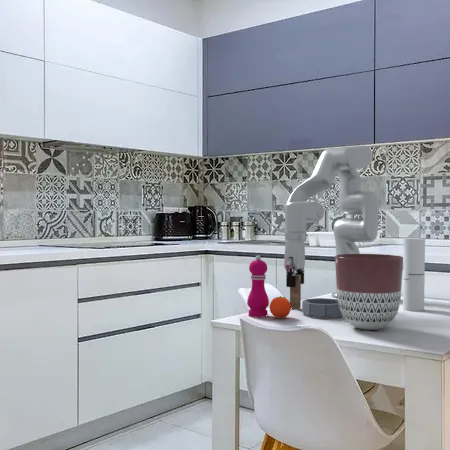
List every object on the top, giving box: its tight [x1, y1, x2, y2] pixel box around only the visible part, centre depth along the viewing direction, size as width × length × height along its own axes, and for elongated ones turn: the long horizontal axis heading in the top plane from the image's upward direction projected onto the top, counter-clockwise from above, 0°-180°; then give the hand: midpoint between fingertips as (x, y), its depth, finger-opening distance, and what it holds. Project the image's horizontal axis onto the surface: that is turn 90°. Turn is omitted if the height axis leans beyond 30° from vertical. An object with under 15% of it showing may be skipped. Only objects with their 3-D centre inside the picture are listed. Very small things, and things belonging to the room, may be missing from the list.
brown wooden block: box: [289, 275, 302, 310], centre depth 205 cm, size 3×3×12 cm
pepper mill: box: [246, 255, 270, 318], centre depth 192 cm, size 7×7×20 cm
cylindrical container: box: [402, 237, 426, 312], centre depth 205 cm, size 7×7×25 cm
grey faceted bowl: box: [301, 297, 343, 319], centre depth 194 cm, size 13×13×4 cm
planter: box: [334, 253, 404, 331], centre depth 172 cm, size 20×20×21 cm
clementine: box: [269, 295, 292, 319], centre depth 189 cm, size 8×7×7 cm
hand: (295, 285), depth 205 cm, fingers open, 9 cm apart
